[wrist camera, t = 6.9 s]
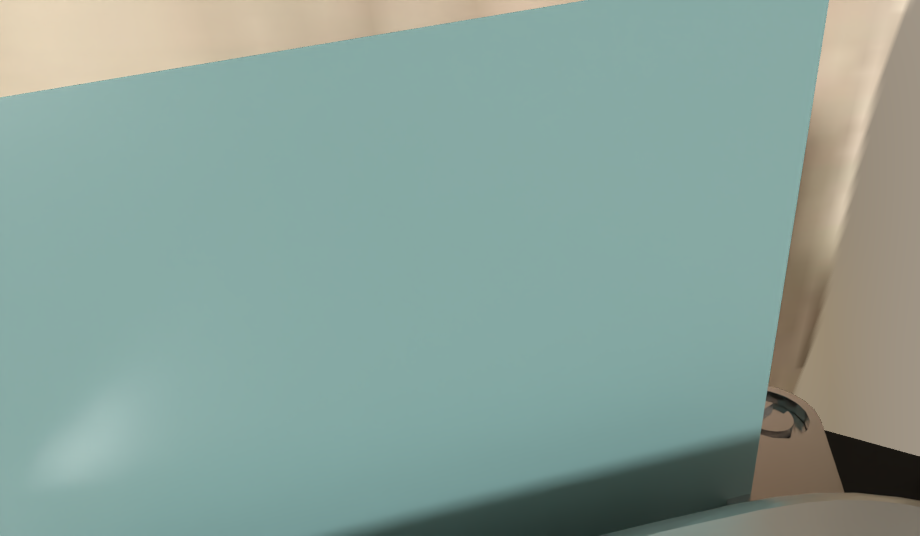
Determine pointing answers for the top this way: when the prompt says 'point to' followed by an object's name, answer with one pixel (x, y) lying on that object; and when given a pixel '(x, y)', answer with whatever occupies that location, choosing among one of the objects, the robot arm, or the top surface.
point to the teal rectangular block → (406, 278)
